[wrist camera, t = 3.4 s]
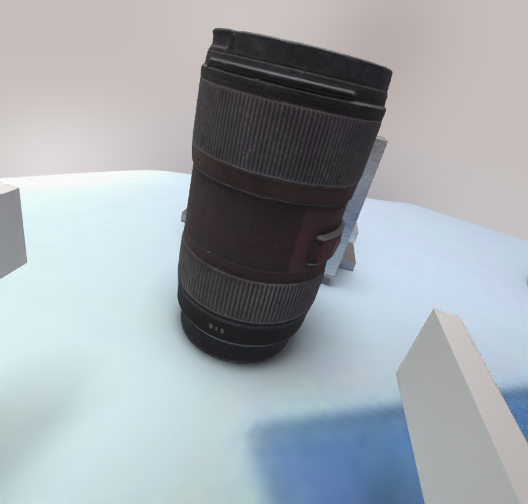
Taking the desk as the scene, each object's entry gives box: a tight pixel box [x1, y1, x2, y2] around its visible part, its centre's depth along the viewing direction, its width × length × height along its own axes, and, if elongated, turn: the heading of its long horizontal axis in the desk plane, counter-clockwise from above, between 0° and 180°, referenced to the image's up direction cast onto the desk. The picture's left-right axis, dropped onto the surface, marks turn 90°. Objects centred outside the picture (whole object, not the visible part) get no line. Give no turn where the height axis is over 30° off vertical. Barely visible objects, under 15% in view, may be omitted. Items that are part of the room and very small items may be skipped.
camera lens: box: [178, 28, 392, 363], centre depth 18 cm, size 8×8×15 cm
